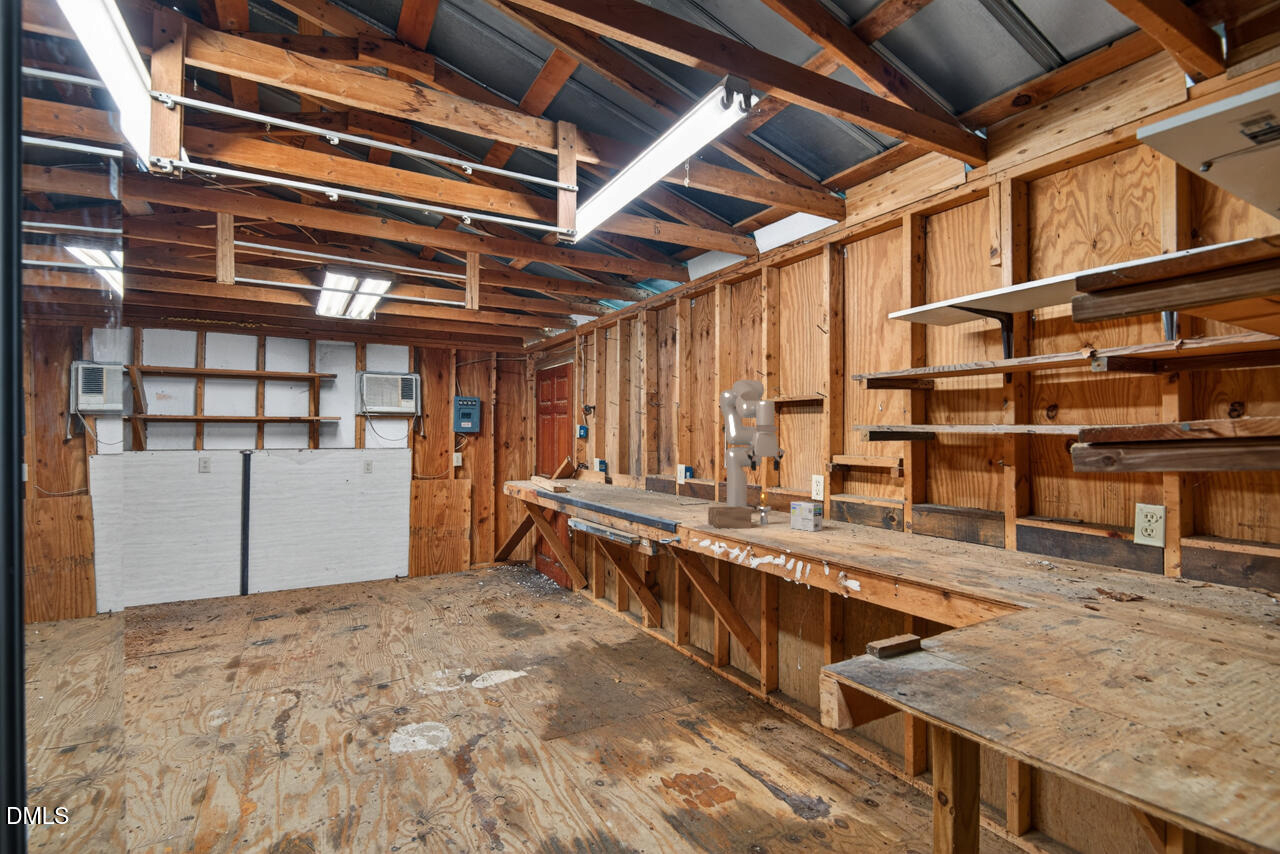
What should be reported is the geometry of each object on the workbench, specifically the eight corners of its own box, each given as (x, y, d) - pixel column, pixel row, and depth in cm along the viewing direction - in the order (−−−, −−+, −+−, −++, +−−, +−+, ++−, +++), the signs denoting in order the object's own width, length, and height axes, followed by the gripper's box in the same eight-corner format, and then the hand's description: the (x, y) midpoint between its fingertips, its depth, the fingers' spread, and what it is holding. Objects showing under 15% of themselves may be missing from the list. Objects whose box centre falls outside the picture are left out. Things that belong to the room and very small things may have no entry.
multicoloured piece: (755, 523, 252) (755, 491, 252) (767, 523, 252) (768, 491, 253) (759, 525, 246) (760, 492, 246) (772, 525, 247) (773, 492, 247)
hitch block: (708, 523, 250) (708, 506, 250) (740, 523, 252) (740, 506, 252) (717, 528, 236) (717, 511, 236) (751, 528, 238) (751, 510, 238)
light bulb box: (822, 530, 234) (823, 503, 235) (813, 532, 230) (813, 504, 230) (799, 527, 242) (799, 500, 243) (789, 528, 238) (790, 501, 238)
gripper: (781, 430, 254) (781, 470, 254) (742, 429, 252) (742, 470, 251) (788, 429, 247) (788, 471, 246) (748, 429, 244) (748, 471, 244)
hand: (764, 470), depth 249 cm, fingers open, 9 cm apart
